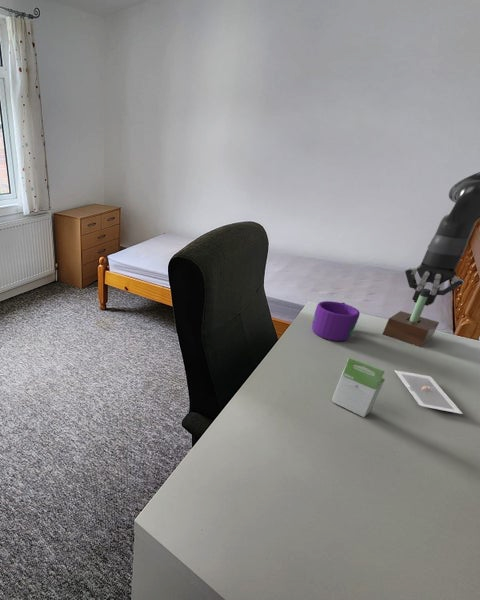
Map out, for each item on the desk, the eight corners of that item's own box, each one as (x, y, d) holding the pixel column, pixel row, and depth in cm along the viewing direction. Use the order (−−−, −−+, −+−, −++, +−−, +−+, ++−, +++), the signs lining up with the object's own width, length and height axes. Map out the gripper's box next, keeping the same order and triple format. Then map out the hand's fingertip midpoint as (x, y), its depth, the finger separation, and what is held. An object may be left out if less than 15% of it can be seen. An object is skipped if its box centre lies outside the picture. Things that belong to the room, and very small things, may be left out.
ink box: (370, 411, 81) (391, 365, 76) (364, 418, 79) (384, 371, 74) (337, 395, 86) (354, 351, 81) (330, 401, 84) (347, 357, 79)
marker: (408, 325, 112) (423, 287, 106) (415, 327, 111) (432, 289, 104) (405, 327, 111) (420, 289, 105) (413, 330, 110) (429, 292, 103)
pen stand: (394, 326, 118) (400, 310, 116) (431, 338, 111) (439, 322, 108) (382, 334, 114) (388, 318, 111) (420, 347, 106) (428, 330, 103)
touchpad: (428, 379, 92) (432, 373, 91) (460, 417, 79) (465, 410, 78) (392, 373, 94) (395, 367, 93) (418, 409, 82) (421, 402, 81)
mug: (346, 347, 106) (356, 319, 102) (305, 334, 114) (313, 308, 110) (357, 328, 117) (366, 302, 113) (319, 317, 125) (326, 292, 121)
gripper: (482, 254, 96) (455, 308, 104) (419, 243, 107) (398, 293, 114) (475, 258, 93) (447, 314, 100) (410, 247, 103) (389, 298, 111)
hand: (421, 303), depth 107 cm, fingers closed on marker, 2 cm apart
